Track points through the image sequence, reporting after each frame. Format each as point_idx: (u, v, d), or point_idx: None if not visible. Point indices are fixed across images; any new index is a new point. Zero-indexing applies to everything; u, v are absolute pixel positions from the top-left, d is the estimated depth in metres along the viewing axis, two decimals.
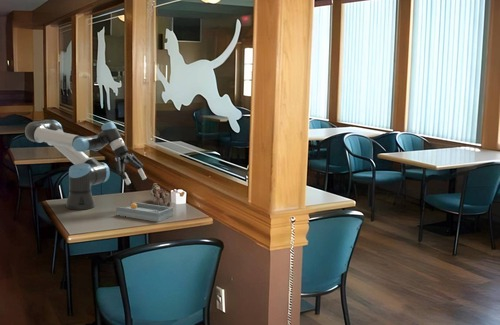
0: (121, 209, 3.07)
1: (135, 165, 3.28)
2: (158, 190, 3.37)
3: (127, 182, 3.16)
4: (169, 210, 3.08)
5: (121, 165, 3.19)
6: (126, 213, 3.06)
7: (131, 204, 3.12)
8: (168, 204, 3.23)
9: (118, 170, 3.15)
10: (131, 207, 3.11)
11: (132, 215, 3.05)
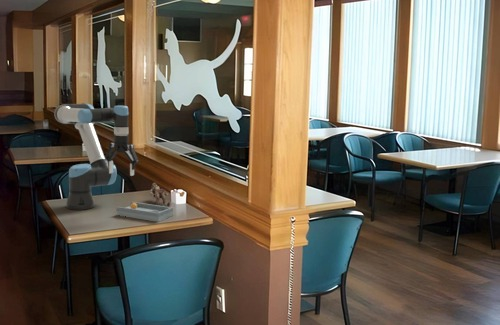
0: (121, 209, 3.07)
1: None
2: (158, 190, 3.37)
3: None
4: (169, 210, 3.08)
5: None
6: (126, 213, 3.06)
7: (131, 204, 3.12)
8: (168, 204, 3.23)
9: None
10: (131, 207, 3.11)
11: (132, 215, 3.05)
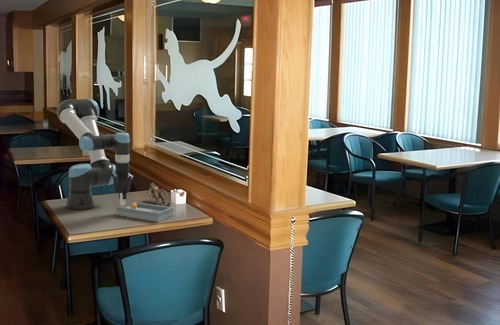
0: (121, 209, 3.07)
1: None
2: (156, 190, 3.37)
3: None
4: (169, 210, 3.08)
5: None
6: (126, 213, 3.06)
7: (131, 204, 3.12)
8: (168, 204, 3.23)
9: None
10: (131, 207, 3.11)
11: (132, 215, 3.05)
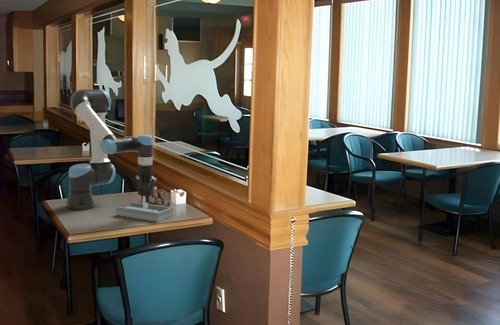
0: (121, 209, 3.07)
1: None
2: (156, 190, 3.36)
3: None
4: (169, 210, 3.08)
5: None
6: (126, 213, 3.06)
7: None
8: (168, 204, 3.23)
9: None
10: None
11: (132, 215, 3.05)
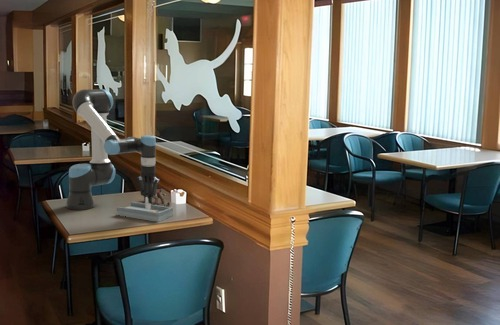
0: (121, 209, 3.07)
1: None
2: None
3: None
4: (169, 210, 3.08)
5: None
6: (126, 213, 3.06)
7: None
8: (168, 204, 3.23)
9: None
10: None
11: (132, 215, 3.05)
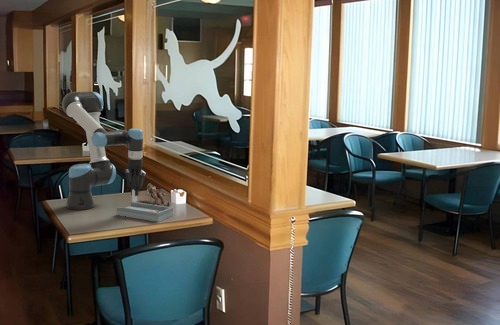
0: (121, 209, 3.07)
1: None
2: (155, 190, 3.36)
3: None
4: (169, 210, 3.08)
5: None
6: (126, 213, 3.06)
7: None
8: (168, 204, 3.23)
9: None
10: None
11: (132, 215, 3.05)
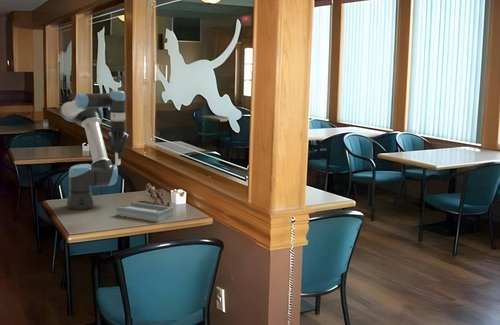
0: (121, 209, 3.07)
1: None
2: (154, 190, 3.36)
3: None
4: (169, 210, 3.08)
5: None
6: (126, 213, 3.06)
7: None
8: (168, 204, 3.23)
9: None
10: None
11: (132, 215, 3.05)
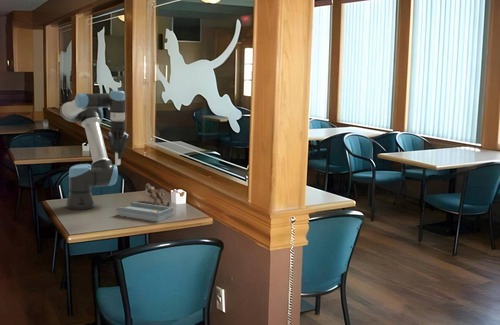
0: (121, 209, 3.07)
1: None
2: (154, 190, 3.36)
3: None
4: (169, 210, 3.08)
5: None
6: (126, 213, 3.06)
7: None
8: (168, 204, 3.23)
9: None
10: None
11: (132, 215, 3.05)
